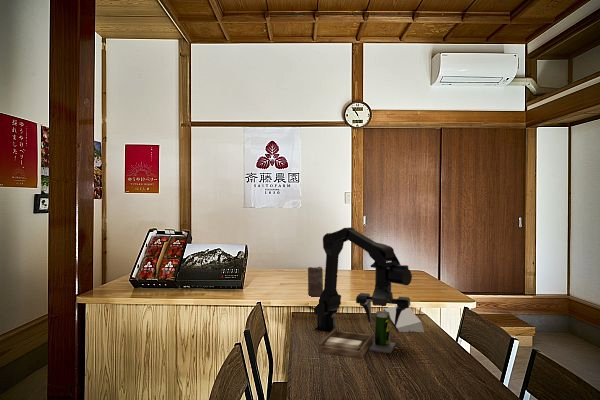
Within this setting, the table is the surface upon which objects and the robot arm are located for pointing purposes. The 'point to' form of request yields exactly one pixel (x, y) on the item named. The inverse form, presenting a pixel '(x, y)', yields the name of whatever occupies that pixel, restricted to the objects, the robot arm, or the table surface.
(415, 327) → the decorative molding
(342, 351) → the wooden tray
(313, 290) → the dark brown tall block
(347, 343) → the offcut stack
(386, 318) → the beer can
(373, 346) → the grey rubber mat
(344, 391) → the table surface
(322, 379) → the table surface
